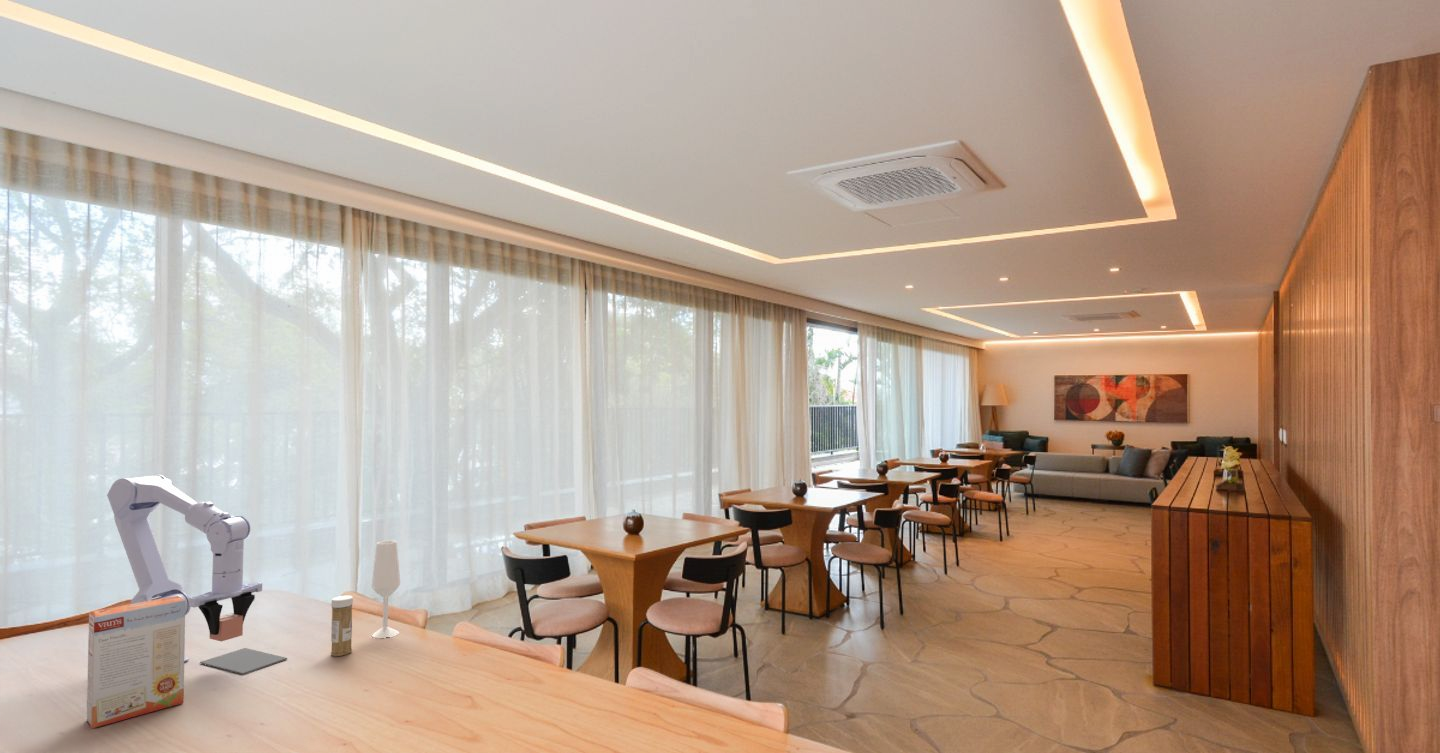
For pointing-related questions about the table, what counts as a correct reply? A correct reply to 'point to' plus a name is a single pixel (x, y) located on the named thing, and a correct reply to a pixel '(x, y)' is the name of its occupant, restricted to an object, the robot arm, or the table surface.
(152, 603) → the cracker box
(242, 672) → the charcoal mat
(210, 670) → the table surface
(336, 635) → the sprinkles bottle
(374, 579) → the champagne flute
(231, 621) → the lettered cube
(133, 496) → the robot arm
